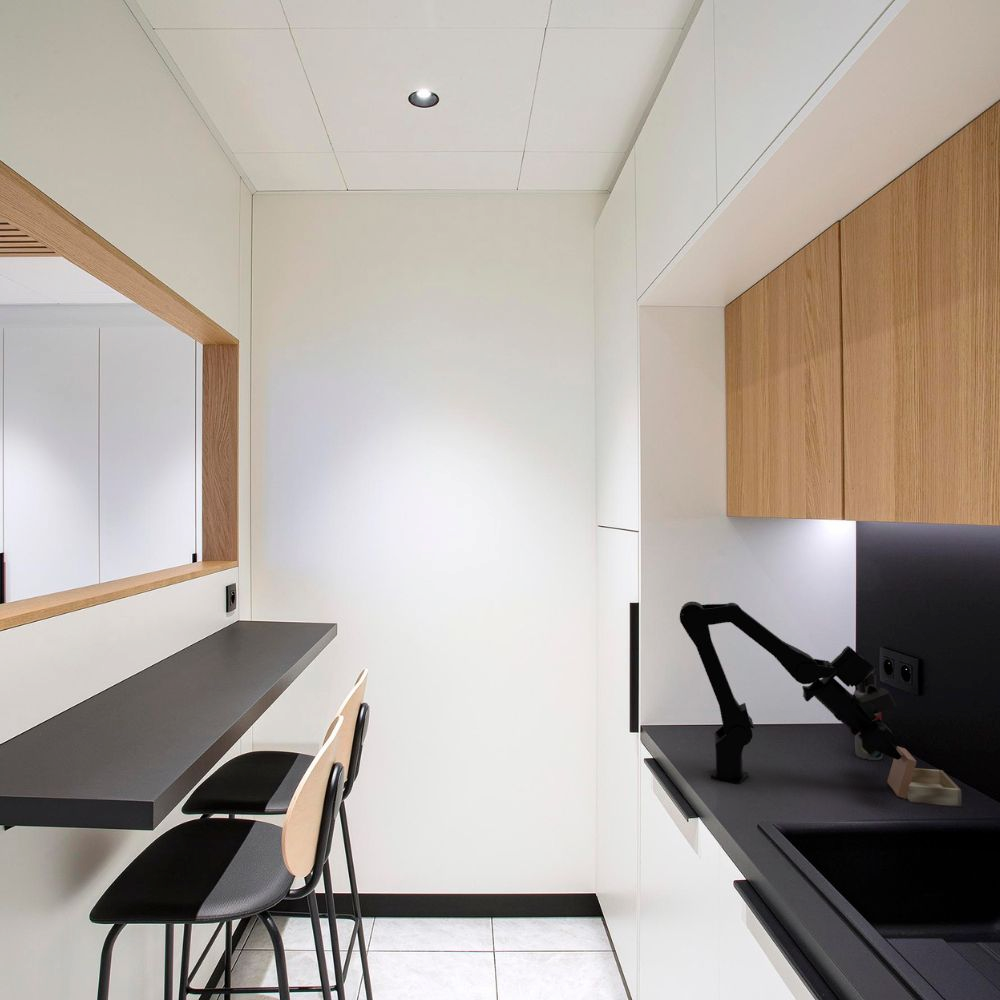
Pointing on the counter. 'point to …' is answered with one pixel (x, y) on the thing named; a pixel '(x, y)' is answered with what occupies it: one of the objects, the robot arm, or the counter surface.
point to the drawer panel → (902, 773)
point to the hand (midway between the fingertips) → (899, 757)
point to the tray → (933, 788)
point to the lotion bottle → (859, 693)
